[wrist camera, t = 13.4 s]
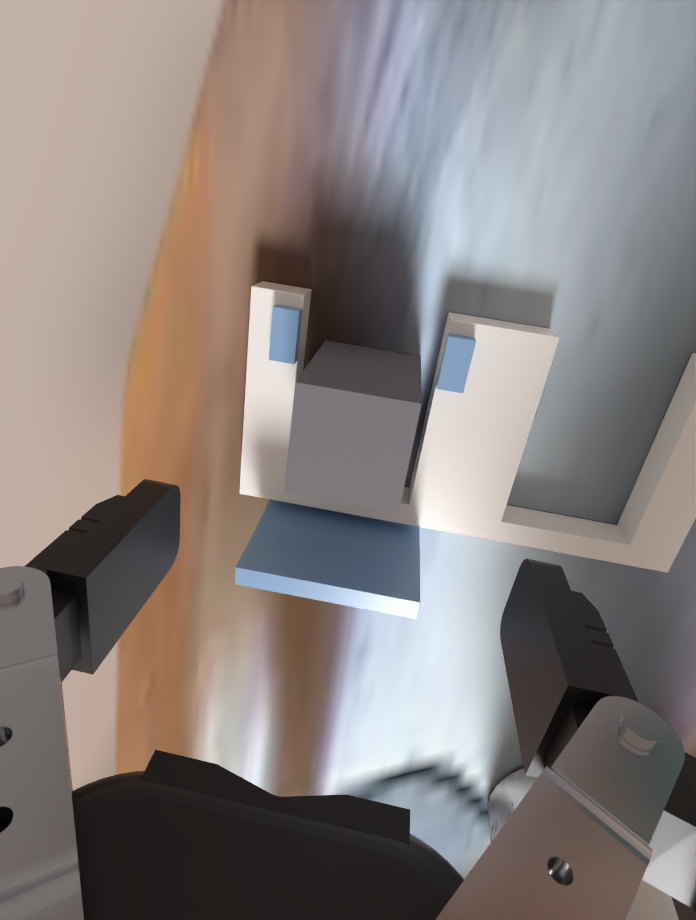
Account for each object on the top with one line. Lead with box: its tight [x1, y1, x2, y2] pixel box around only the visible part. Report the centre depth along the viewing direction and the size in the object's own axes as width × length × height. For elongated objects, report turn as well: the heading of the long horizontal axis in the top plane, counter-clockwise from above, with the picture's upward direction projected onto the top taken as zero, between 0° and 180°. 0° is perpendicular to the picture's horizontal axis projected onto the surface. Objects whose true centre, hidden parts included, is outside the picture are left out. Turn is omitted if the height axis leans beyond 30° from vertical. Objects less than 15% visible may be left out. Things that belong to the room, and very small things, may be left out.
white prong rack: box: [235, 281, 696, 619], centre depth 20 cm, size 19×10×6 cm, turn 82°
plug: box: [285, 340, 422, 513], centre depth 20 cm, size 4×4×6 cm
